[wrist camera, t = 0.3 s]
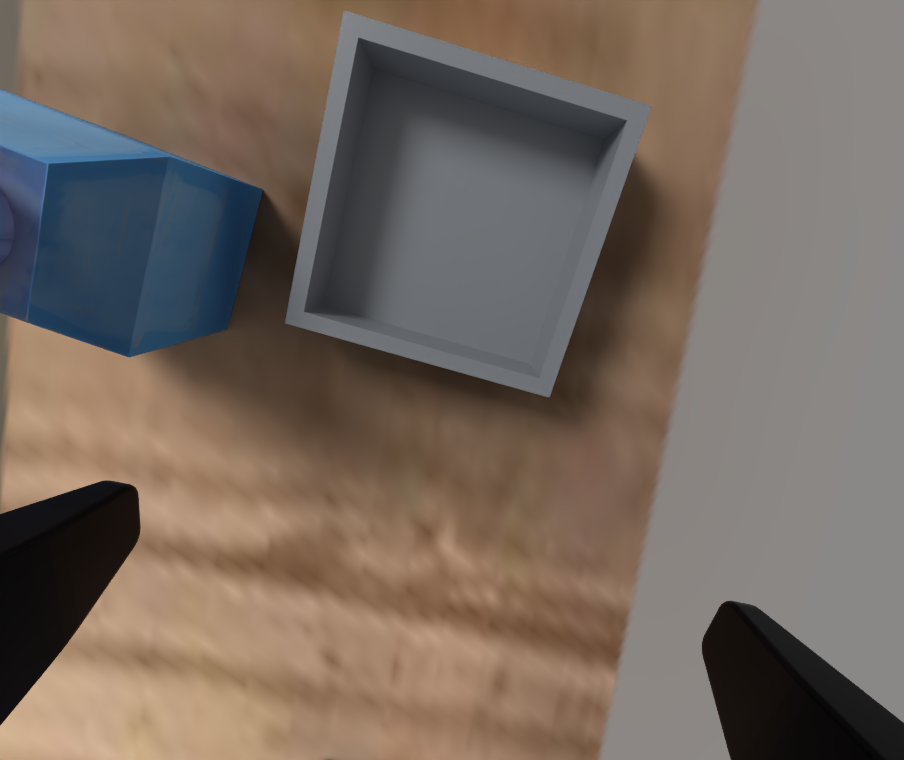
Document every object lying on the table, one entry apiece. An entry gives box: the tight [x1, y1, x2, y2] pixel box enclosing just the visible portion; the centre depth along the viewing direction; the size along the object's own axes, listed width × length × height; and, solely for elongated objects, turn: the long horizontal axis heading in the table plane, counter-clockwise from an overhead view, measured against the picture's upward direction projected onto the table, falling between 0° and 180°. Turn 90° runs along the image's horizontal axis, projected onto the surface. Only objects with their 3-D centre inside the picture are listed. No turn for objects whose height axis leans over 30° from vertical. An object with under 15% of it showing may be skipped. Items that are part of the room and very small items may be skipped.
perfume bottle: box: [0, 89, 263, 357], centre depth 14 cm, size 6×6×12 cm
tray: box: [285, 11, 651, 397], centre depth 18 cm, size 10×10×3 cm
